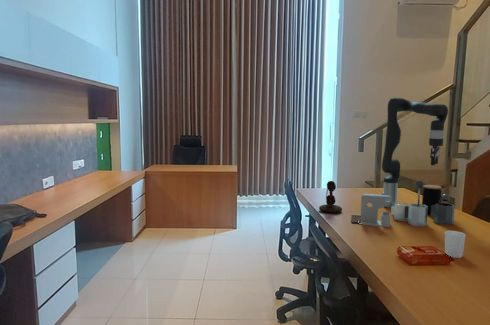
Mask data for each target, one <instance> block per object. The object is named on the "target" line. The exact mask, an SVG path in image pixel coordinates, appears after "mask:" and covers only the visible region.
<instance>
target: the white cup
mask: <svg viewBox="0 0 490 325" xmlns="http://www.w3.org/2000/svg"><path fill="white" fill-rule="evenodd" d="M466 236H467V235H466V233H464V232H462V231H456V230H446V231H444V254H445V253H446V254H447V255H449V256H448V257H450V256H451V257H450V258H454V259H456V258H457V259H461V258H463V256H464V250H465V249H464V248H465V242H466ZM447 255H446V256H447Z"/></svg>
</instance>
